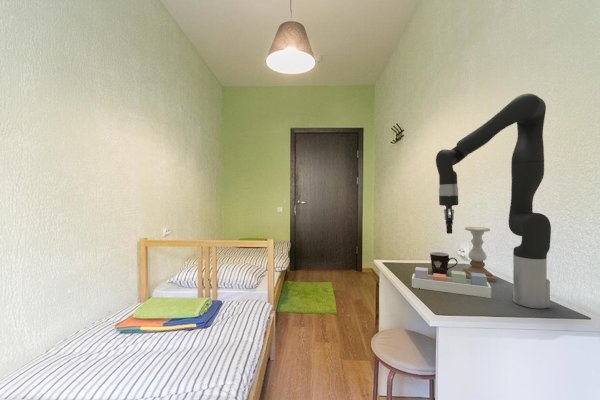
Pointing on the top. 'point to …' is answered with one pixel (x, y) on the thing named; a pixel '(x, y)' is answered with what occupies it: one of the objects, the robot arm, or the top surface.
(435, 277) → the terracotta key
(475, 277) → the light blue block
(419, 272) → the lavender block
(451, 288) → the frame
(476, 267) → the candle holder
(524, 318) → the top surface
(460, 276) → the sage green key
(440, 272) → the coffee mug
